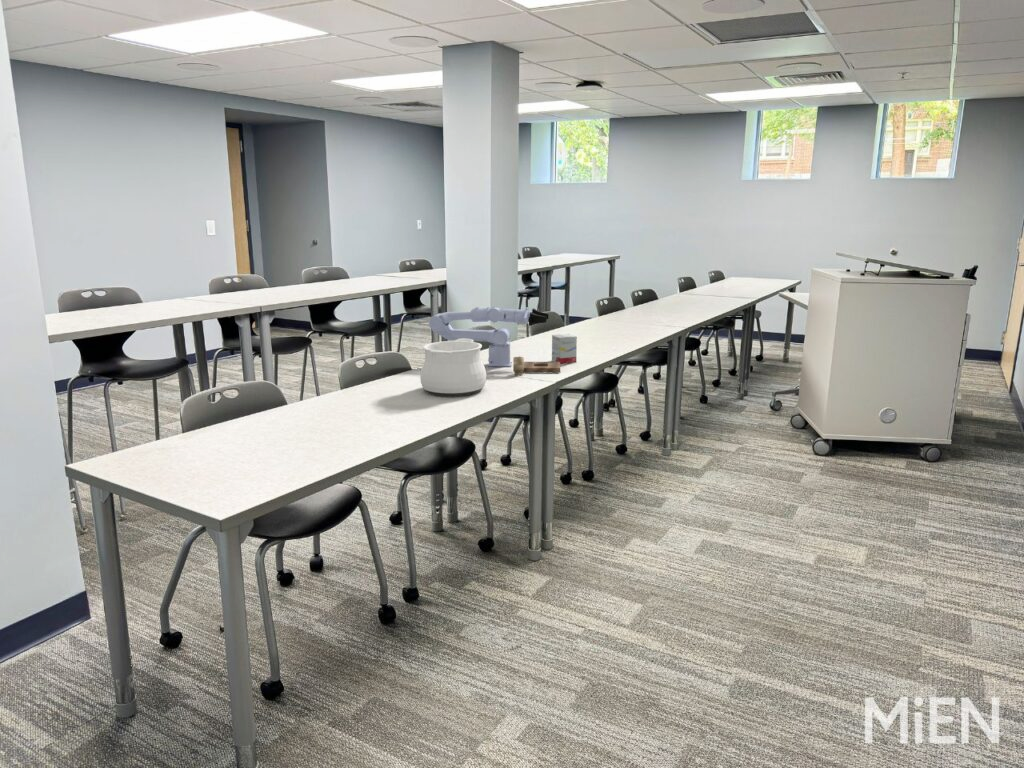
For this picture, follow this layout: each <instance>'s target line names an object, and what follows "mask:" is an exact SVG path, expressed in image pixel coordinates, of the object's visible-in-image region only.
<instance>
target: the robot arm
mask: <svg viewBox="0 0 1024 768" xmlns="http://www.w3.org/2000/svg"><path fill="white" fill-rule="evenodd" d="M549 317H550V316H549V313H546V312H544V311H541V310H538V309H535V308H531V311H530V310H529V307H525V309H518V308H516V309H515V308H500V307H497V306H492V307H490V306H487V307H482V308H480V307H479V306H476V307H475V308H472V309H471V310H470V311H447V312H439V313H436V314H434V315H433V316H431V317H430V318H429V320H428V327H429V328H430V329H431V330H432V332H433V333H435V334H438V335H439V336H440V337H443V338H444V339H445V340H446V341H455V340H457V339H462V338H465V339H473V341H474V342H487V343H490V344H489V346H488V359H487V361H488V367H512V363H513V362H512V361H511V343H510V341H509V340H510V339H511V331H510V330H509V329H508V328H506V327H500V328H498V329H487V330H486V329H467V328H453V327H452V325H451V324H450V322H452V321H462V320H471V321H472V322H473V323H480V322H481V323H482V322H492V323H497V322H505V323H516V324H525V325H528V327H530V326H533V325H537V324H543V323H547V320H549Z"/></svg>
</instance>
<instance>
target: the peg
mask: <svg viewBox="0 0 1024 768" xmlns="http://www.w3.org/2000/svg"><path fill="white" fill-rule="evenodd" d="M524 358H525V357H523V356H515V357H514V356H513V360H512V361H513V362H512V363H513V365H512V366H513V367H512V368H513V370H512V371H513V372H514V376H516V375H521V376H523V374H524V373H523V371H524V362H525V361H524Z"/></svg>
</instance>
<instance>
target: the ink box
mask: <svg viewBox="0 0 1024 768" xmlns="http://www.w3.org/2000/svg"><path fill="white" fill-rule="evenodd" d="M577 341H578V339H577V336H575V335H572V334H569V333H566V334H565V333H564V334H563V333H562V334H559V333H558V334H552V335H551V361H552V360H553V361H552V362H554V361H555V362H560V365H563V364H562V363H565V364H573V363H572V362H575V363H577V347H578V346H577Z"/></svg>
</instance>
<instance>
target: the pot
mask: <svg viewBox="0 0 1024 768" xmlns="http://www.w3.org/2000/svg"><path fill="white" fill-rule="evenodd" d="M481 348H483V345H482V344H481V343H479V342H477V341H473V339H465V338H462V339H457V340H445V341H436V342H430V343H426V344H424V345H423V346H422V349H423V350H424V362H423V364H422V367H421V369H420V370H421V371H420V376H419V377H420V378H419V379H420V384H421V387H422V388H423V390H424V391H425V392H426V393H428V394H430V395H433V396H437V397H445V398H448V397H449V398H453V397H454V398H455V397H458V398H459V397H467V396H471V395H474V394H477V393H479V392H481V391H482V390H483V389H484V387H485V384H486V381H487V370H486V367H485V365H484V363H483V361H482V356H481Z"/></svg>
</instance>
